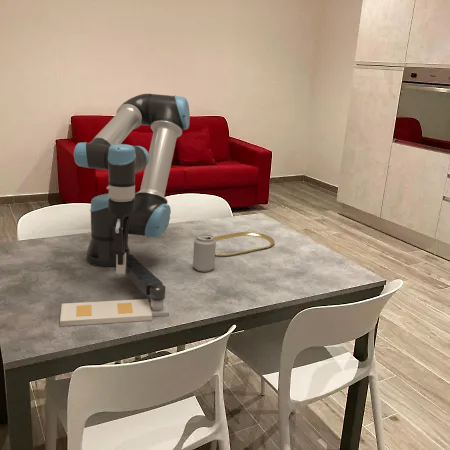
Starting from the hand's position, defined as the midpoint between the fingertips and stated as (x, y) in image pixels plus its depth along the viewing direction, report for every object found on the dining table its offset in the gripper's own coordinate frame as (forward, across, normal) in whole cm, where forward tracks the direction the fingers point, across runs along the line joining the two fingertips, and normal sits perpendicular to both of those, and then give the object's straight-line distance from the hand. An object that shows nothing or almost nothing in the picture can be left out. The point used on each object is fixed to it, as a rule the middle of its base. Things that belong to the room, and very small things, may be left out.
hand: (121, 272), depth 151 cm
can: (+6, -21, +25) cm, 33 cm away
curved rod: (+6, -47, +36) cm, 59 cm away
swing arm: (+1, +2, +6) cm, 7 cm away
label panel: (+6, +15, +2) cm, 17 cm away
